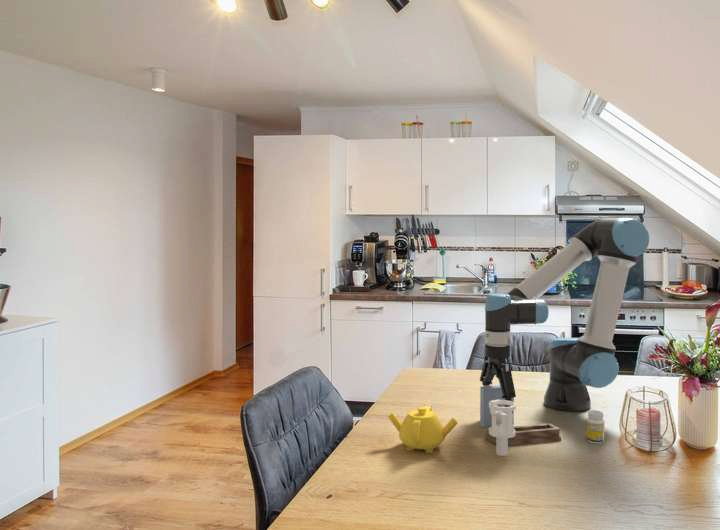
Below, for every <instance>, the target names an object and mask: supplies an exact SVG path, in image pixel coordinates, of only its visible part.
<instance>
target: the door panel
mask: <svg viewBox="0 0 720 530" xmlns="http://www.w3.org/2000/svg"><path fill="white" fill-rule="evenodd" d="M483 386H484V385H483ZM483 386H480V388H479V389H480V391H479V392H480V394H479V396H480V397H479V399H480V400H479V401H480V402H479V403H480V405H479V409H480V410H479V413H480V414H479V417H480V418H479V422H480V423H479V425H480V426H481V427H482V428H490V427H492V414H490V408H489V402H490V401H492V400H497V399H498V400H502V396H503V393H502V390H501V386H500V384H499V385H492V386H484V387H483ZM511 402H514V403H515V397H514V398H512V399H511ZM497 406H498V407H502V404H497ZM514 412H515V410H513V411H512V413H513V426H514V421H515V420H514V418H515V417H514V416H515V414H514Z"/></svg>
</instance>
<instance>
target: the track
mask: <svg viewBox="0 0 720 530" xmlns="http://www.w3.org/2000/svg"><path fill="white" fill-rule="evenodd" d="M513 428H514V429H515V431H516V433H515V436H514V437H512V438H508V446H512V445H515V446H516V445H524V444H534V443H535V444H536V443H545V442H555V441H556V442H557V441H562V436H561V435H560V433H561V432H560V431H561V429H560V428H559V427H557V426H556V425H554V424H552V423H539V424H528V425H518V426H517V425H516V426H514V425H513ZM484 437H485V438H486V439H487V440H489V442H491V443H492V444H493V445H494V446H496V437H493V436H491V435H490V434H489V428H486V429H485V433H484Z"/></svg>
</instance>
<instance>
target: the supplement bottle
mask: <svg viewBox="0 0 720 530" xmlns="http://www.w3.org/2000/svg"><path fill="white" fill-rule="evenodd" d="M587 416H588V418H586V441H587V442H589V443H591V444H596V445H598V444H604V442H605V420H604V412H603V411H600V410H595V409H593V410H591V409H590V410H589V411H588V413H587Z"/></svg>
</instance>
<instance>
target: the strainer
mask: <svg viewBox="0 0 720 530" xmlns="http://www.w3.org/2000/svg"><path fill="white" fill-rule="evenodd" d="M497 404H504V405H510V406H511V407H498V406H497ZM489 408H490V414H492V427H488V429H489V434H490V435H491V436H493V437H496V445H495V448H496V449H495V454H496V455H498V456H501V457H502V456H503V457H504V456H508V455H509V454H508V453H509V451H508V449H509V448H508V447H509V445H508V438H512V437H514V436H515V433H516V431H515V429H514V428H513V427H514V425H513V413H512V411H513V410H514V411H516V408H517V404H516V403H515V401H514V402H511V401H507V400H498V399H497V400H492V401H490V402H489Z"/></svg>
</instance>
